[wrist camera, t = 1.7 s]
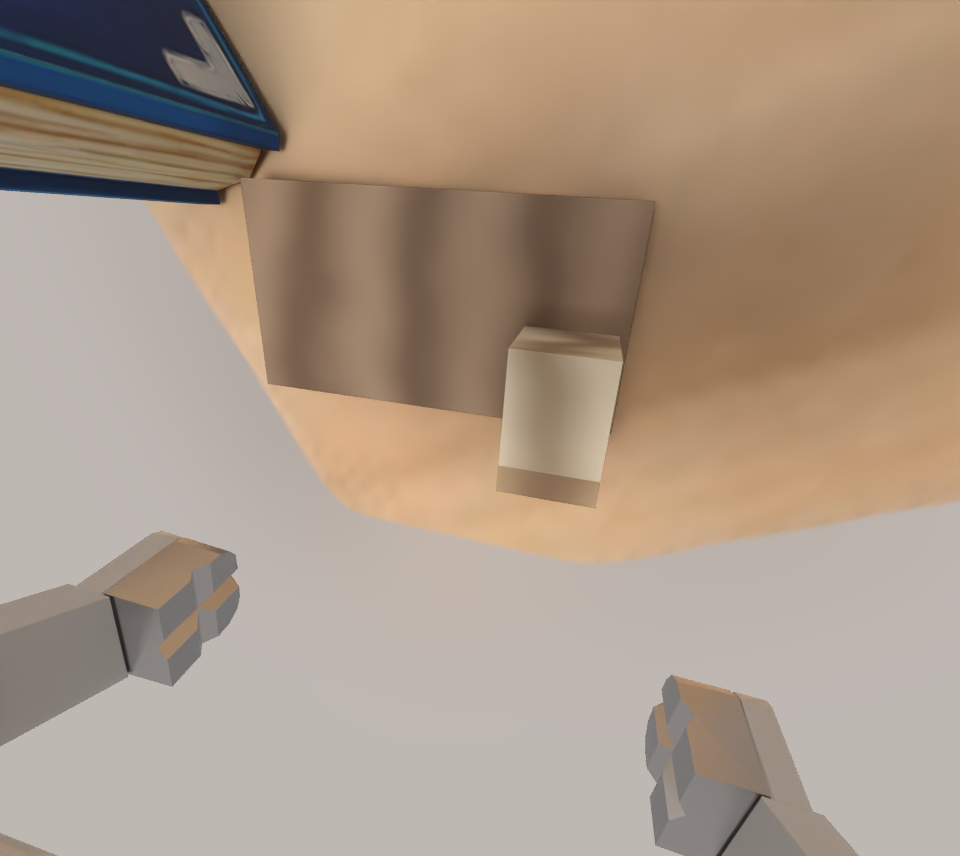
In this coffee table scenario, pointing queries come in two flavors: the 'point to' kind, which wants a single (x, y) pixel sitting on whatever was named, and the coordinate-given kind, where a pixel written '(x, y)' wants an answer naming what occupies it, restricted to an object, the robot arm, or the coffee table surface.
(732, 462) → the coffee table surface
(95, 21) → the book
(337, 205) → the board
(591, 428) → the block
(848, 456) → the coffee table surface
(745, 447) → the coffee table surface
